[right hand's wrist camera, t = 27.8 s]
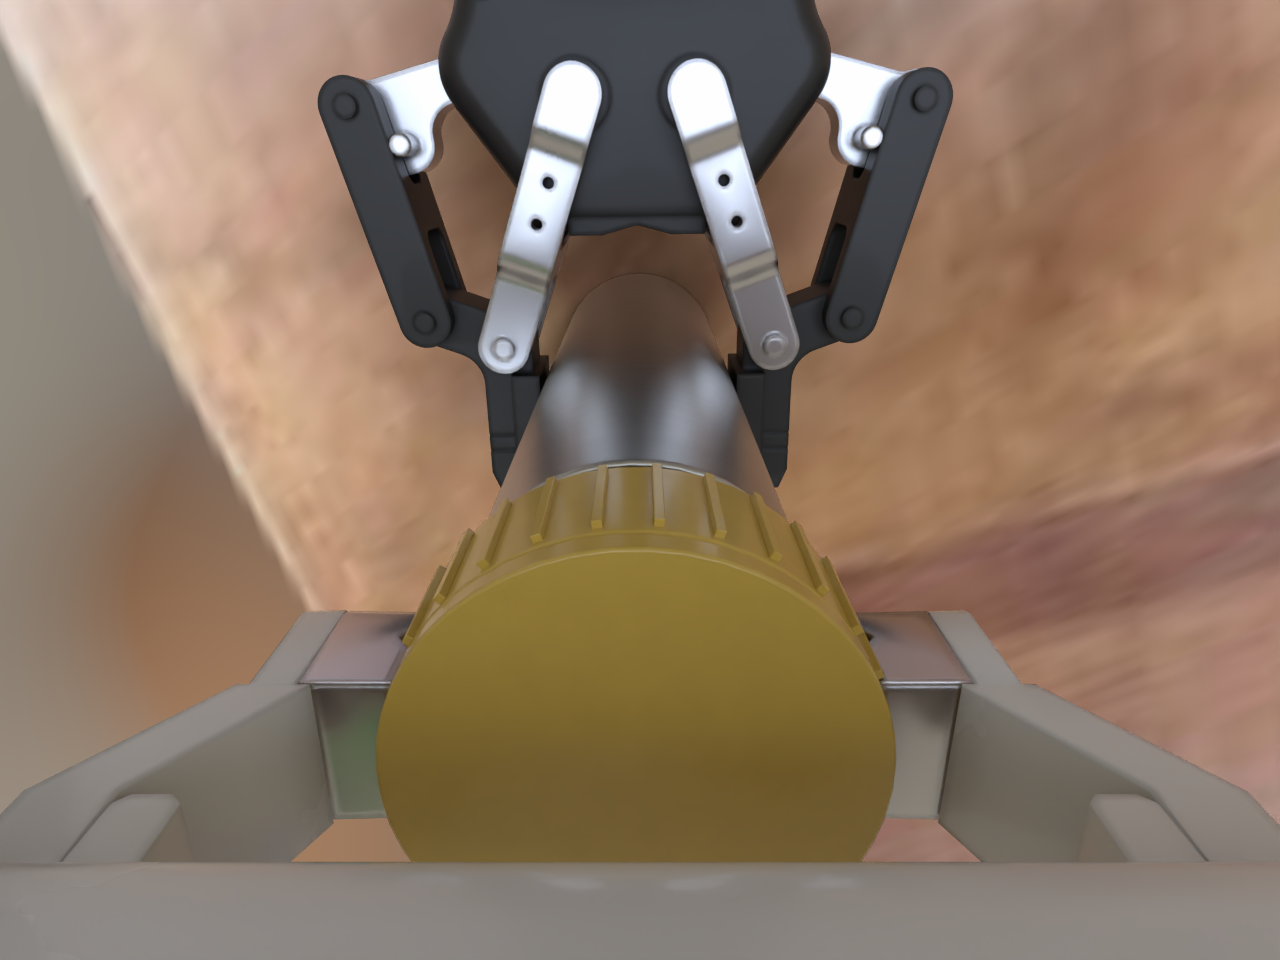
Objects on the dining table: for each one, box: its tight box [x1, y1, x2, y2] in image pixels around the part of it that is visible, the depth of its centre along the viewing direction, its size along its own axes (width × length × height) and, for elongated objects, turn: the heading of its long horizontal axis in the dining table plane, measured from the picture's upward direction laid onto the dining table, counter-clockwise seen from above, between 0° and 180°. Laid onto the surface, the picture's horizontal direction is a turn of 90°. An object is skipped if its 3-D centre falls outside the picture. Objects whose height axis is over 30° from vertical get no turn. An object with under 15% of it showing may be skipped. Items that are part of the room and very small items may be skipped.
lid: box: [376, 463, 896, 862], centre depth 9 cm, size 5×5×2 cm
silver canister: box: [489, 273, 787, 520], centre depth 18 cm, size 5×5×19 cm
